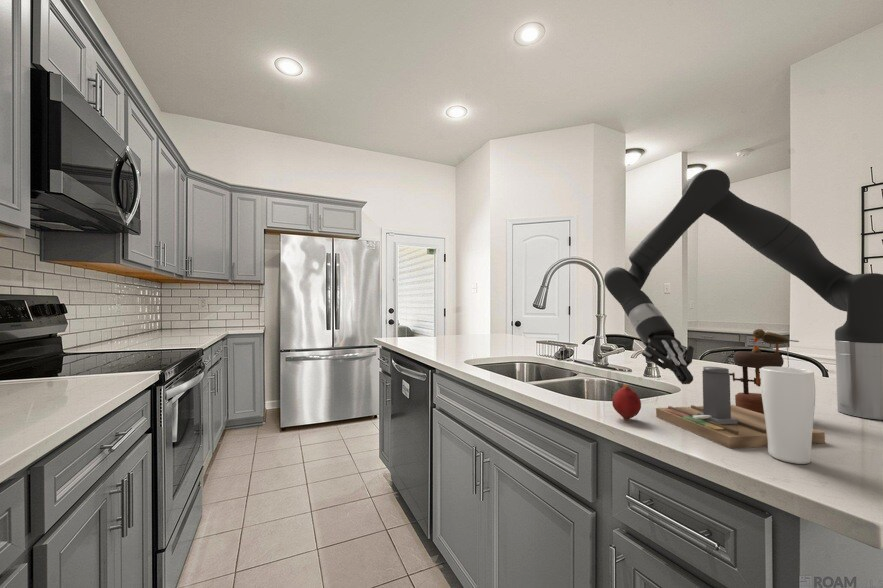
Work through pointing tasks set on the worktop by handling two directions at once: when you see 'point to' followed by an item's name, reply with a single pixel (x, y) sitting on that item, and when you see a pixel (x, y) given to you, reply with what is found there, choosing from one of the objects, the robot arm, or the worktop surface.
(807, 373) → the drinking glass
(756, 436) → the board
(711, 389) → the peg slider
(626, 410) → the onion
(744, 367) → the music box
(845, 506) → the worktop surface
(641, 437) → the worktop surface
